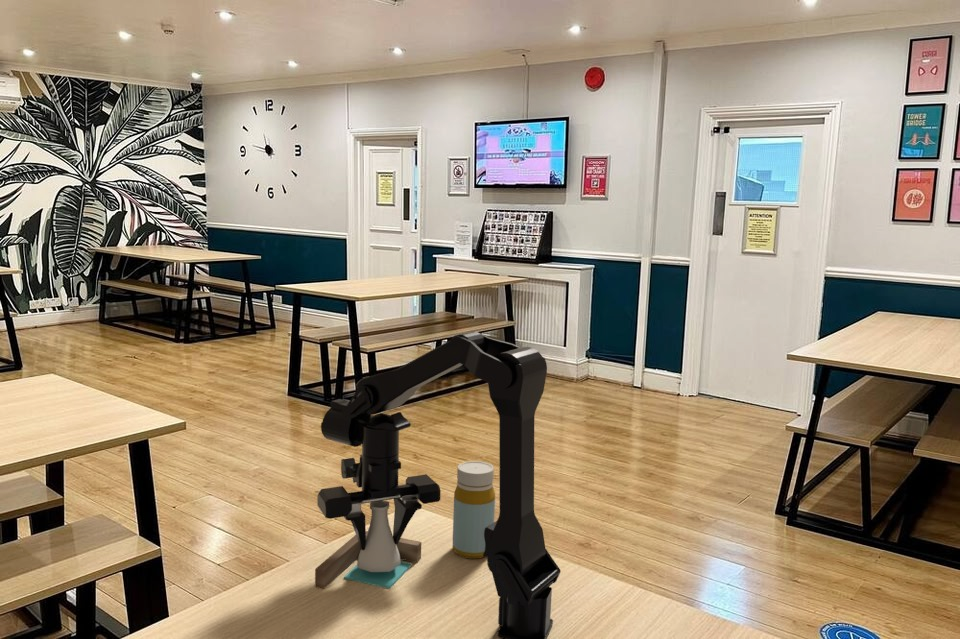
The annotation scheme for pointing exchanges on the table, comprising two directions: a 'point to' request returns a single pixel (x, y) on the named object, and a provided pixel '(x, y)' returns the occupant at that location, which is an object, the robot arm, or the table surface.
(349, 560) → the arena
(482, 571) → the table surface
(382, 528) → the flask
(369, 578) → the pad
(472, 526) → the bottle
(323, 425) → the robot arm
